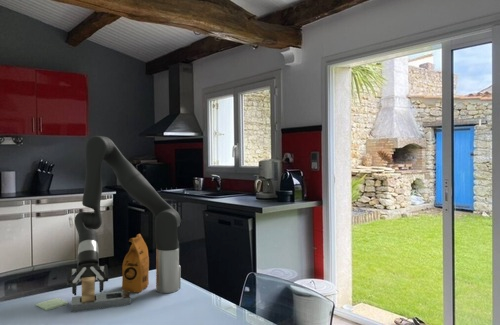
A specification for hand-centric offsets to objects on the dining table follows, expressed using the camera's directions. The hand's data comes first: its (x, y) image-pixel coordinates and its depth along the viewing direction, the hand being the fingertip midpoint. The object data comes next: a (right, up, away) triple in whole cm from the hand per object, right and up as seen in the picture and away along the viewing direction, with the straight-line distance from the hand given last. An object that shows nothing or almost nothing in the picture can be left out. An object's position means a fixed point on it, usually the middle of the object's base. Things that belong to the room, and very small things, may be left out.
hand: (88, 292), depth 140 cm
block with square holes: (+4, -5, +3) cm, 7 cm away
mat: (-14, -5, +2) cm, 15 cm away
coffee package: (+11, -6, +21) cm, 25 cm away
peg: (-1, -5, +1) cm, 5 cm away
